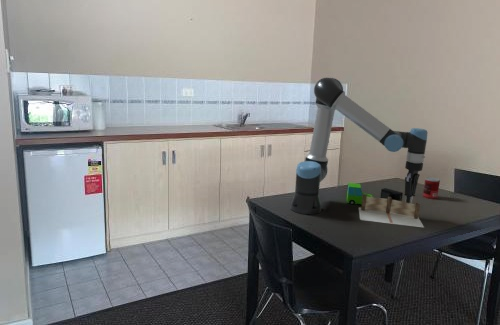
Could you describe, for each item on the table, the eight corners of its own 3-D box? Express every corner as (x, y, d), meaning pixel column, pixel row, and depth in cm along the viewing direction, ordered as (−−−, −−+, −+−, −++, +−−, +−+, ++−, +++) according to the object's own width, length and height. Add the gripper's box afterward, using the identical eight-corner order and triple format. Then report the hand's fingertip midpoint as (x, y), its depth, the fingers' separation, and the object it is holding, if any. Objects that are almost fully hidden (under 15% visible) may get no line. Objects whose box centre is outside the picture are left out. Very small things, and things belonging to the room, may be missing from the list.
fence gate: (389, 213, 193) (391, 199, 191) (390, 212, 194) (392, 198, 193) (417, 218, 186) (419, 204, 184) (418, 217, 187) (420, 203, 186)
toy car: (373, 208, 202) (375, 189, 200) (347, 205, 205) (348, 187, 203) (371, 202, 212) (373, 184, 210) (346, 199, 214) (348, 182, 212)
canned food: (438, 196, 229) (440, 178, 227) (436, 200, 222) (438, 181, 220) (423, 194, 233) (426, 176, 230) (421, 197, 226) (424, 179, 224)
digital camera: (378, 201, 214) (380, 189, 213) (383, 199, 218) (385, 187, 216) (396, 206, 207) (397, 194, 205) (401, 204, 210) (402, 192, 209)
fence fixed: (361, 210, 196) (362, 194, 194) (360, 209, 198) (362, 193, 196) (389, 213, 193) (391, 198, 191) (389, 212, 195) (391, 197, 193)
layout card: (360, 220, 182) (360, 219, 182) (358, 208, 200) (358, 207, 200) (424, 228, 176) (424, 227, 176) (416, 215, 195) (416, 213, 194)
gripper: (417, 164, 177) (410, 213, 183) (427, 161, 187) (420, 207, 192) (401, 161, 182) (394, 209, 187) (411, 158, 192) (405, 203, 197)
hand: (407, 208), depth 190 cm, fingers closed
